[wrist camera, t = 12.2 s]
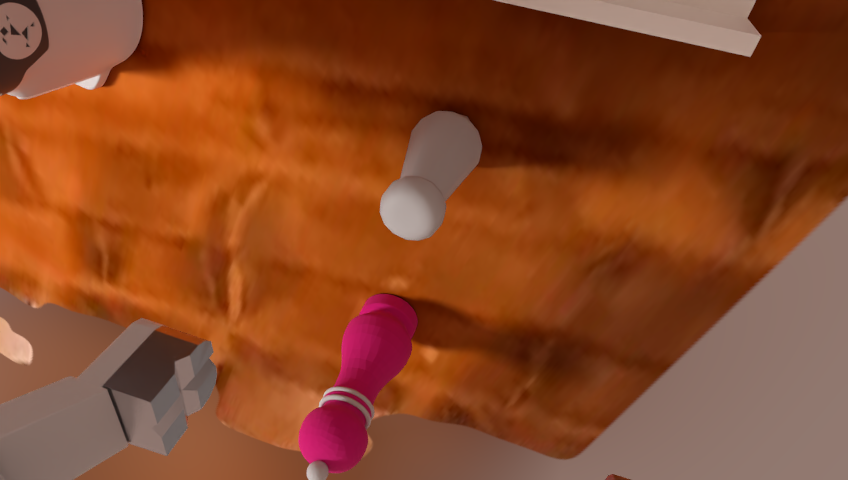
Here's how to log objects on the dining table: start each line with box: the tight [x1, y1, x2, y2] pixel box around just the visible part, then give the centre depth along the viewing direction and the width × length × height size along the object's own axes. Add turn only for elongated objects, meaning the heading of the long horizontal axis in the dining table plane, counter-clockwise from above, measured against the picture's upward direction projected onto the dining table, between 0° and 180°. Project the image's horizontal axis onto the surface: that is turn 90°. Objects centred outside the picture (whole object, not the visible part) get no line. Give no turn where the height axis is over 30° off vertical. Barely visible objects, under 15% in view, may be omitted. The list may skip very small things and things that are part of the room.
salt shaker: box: [380, 111, 482, 241], centre depth 39 cm, size 6×6×13 cm
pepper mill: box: [299, 294, 418, 480], centre depth 51 cm, size 7×7×20 cm
